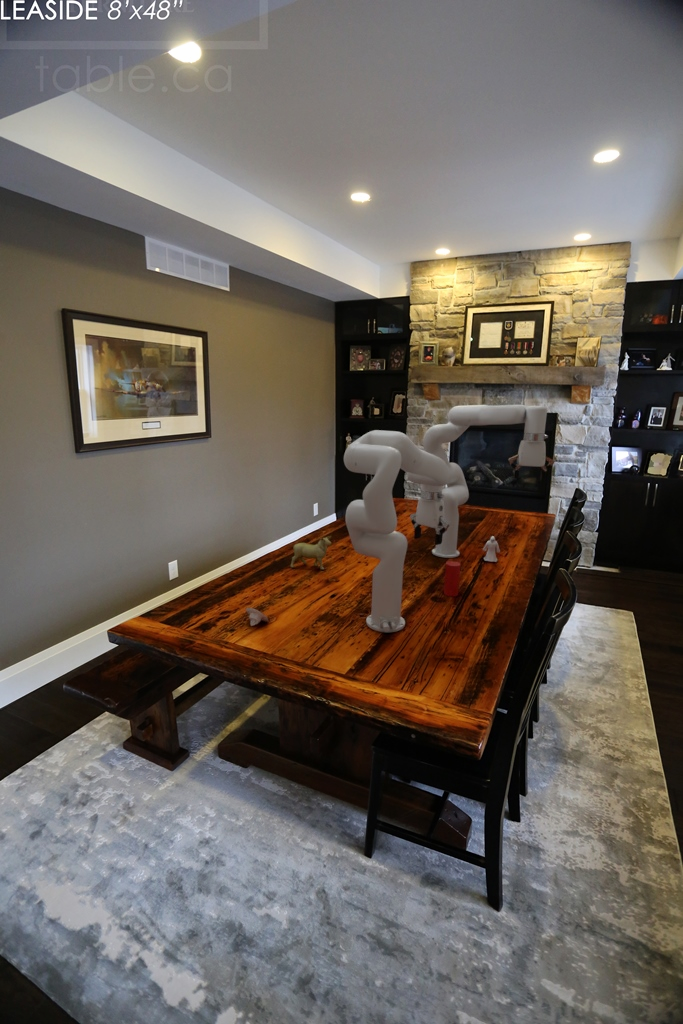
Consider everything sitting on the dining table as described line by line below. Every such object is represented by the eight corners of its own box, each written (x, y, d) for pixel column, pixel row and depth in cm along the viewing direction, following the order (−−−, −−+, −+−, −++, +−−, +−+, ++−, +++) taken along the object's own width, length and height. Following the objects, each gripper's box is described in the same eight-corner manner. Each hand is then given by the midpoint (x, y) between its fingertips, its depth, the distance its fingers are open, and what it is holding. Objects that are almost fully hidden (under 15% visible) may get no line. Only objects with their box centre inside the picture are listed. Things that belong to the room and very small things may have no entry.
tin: (460, 595, 186) (463, 565, 183) (448, 597, 185) (450, 566, 182) (453, 590, 191) (455, 560, 188) (441, 591, 189) (443, 561, 186)
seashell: (251, 634, 162) (235, 615, 161) (262, 623, 165) (246, 604, 164) (262, 630, 156) (245, 610, 155) (273, 618, 159) (257, 599, 158)
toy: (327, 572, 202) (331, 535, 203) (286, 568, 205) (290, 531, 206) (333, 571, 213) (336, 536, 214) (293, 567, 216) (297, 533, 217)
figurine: (481, 562, 222) (483, 536, 219) (482, 556, 230) (484, 531, 227) (499, 564, 220) (501, 538, 217) (499, 558, 228) (501, 533, 225)
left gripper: (457, 498, 177) (453, 545, 181) (419, 491, 190) (416, 534, 193) (444, 500, 172) (440, 548, 176) (406, 492, 185) (403, 537, 188)
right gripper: (554, 437, 200) (549, 479, 204) (509, 436, 203) (505, 477, 207) (559, 439, 193) (553, 483, 197) (512, 437, 195) (508, 480, 200)
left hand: (427, 541), depth 184 cm, fingers open, 9 cm apart
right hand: (528, 480), depth 202 cm, fingers open, 9 cm apart
